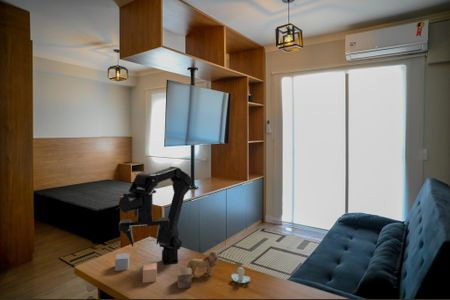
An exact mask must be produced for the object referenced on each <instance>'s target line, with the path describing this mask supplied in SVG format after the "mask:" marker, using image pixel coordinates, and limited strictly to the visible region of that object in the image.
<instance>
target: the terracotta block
mask: <svg viewBox="0 0 450 300" xmlns="http://www.w3.org/2000/svg"><path fill="white" fill-rule="evenodd" d="M157 275H158V262H151V263H144V264H143V269H142V283H155V282H157V279H158V277H157Z"/></svg>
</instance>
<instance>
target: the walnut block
mask: <svg viewBox="0 0 450 300" xmlns="http://www.w3.org/2000/svg"><path fill="white" fill-rule="evenodd" d="M192 276H193V274H192V269H191V268H187V267H181V268H179V267H178V268H177V280H176V281H177V282H176V283H177V289H181V288H182V289H184V288H191V287H192V281H193V280H192Z"/></svg>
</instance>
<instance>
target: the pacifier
mask: <svg viewBox="0 0 450 300" xmlns="http://www.w3.org/2000/svg"><path fill="white" fill-rule="evenodd" d="M236 272H237V273H232V274H231V279H232V280H233V281H234V282H235V283H237V282H238V283H237V284H240V283H244V284H246V283H248V282H250V281H251V277H250V276H248V275H245V273H246V271H245V269H244V268H243V267H241V266H239V267H237V269H236Z"/></svg>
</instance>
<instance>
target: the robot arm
mask: <svg viewBox="0 0 450 300" xmlns="http://www.w3.org/2000/svg"><path fill="white" fill-rule="evenodd" d="M169 179H170V181H171V182H172V184H171V185H172V190H173V196H172V200H171V203H170V207H169V211H168V215H167V216H163V217H159V218H158V219H157V220H153V219H154V212H153V194H155V193H156V194H157V190H155V189H154V188H156V187H158V184H160V183H161V182H165V181H167V180H169ZM192 184H193V180H192V178H191V176H190V175H189V174H188V173H186V172H185V171H183V170H182V169H181V168H180V167H177V166H169V167H168V168H165V169H162V170H157V171H155V172H150V173H149V172H148V173H147V172H145V173H138V174H137V175H135V178H134V179H133V182H132V184H131V186H130V187H129V190H128V192H125V193H123V194H122V197H121V198H120V200H119V202H118V207H119V209H120V211H121V212H123V213H124V214H126V213H127V214H128V213H129V212H130V213H131V212H132V211H134V217H136V218H137V221H132V218H129V219H127V218H125V219H121V220H120V221H119V224H118V232H122V234H125V235H126V237H127V238H128V241H129V242H130V244H131V247H134V236H133V228H134V227H135V228H136V227H149V226H153V227H154V226H158V227H157V234H156V245H158V244H159V247H160V248H162V250H161V261H162V264H163V265H167V264H168V265H169V264H177V263H179V257H178V254H179V253H178V252H179V250H181V247H182V245H183V242H182V241H181V239H180V238H179V233H180V232H179V230H178V223H179V219H180V216H181V210H182V207H183V203H184V199H185V195H186V194H188V193H189V191H190V189H191V186H192Z"/></svg>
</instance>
